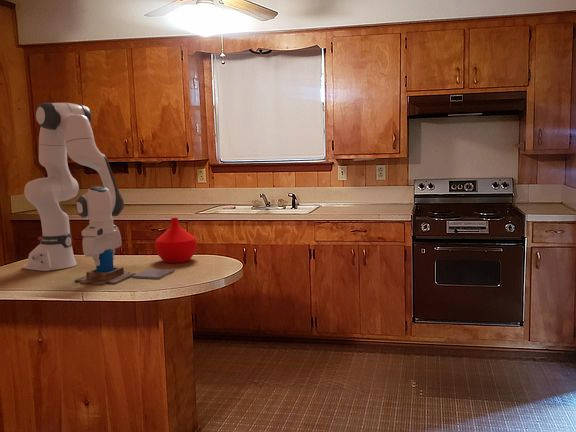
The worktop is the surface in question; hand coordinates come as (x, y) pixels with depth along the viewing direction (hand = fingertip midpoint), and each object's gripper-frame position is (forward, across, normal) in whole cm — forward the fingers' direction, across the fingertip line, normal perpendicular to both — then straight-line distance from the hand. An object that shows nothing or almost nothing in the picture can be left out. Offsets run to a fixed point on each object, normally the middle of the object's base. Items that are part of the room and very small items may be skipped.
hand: (104, 263), depth 221 cm
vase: (+6, -34, +13) cm, 37 cm away
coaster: (+6, -9, +16) cm, 19 cm away
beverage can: (+6, 0, 0) cm, 6 cm away
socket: (+6, 0, 0) cm, 6 cm away
